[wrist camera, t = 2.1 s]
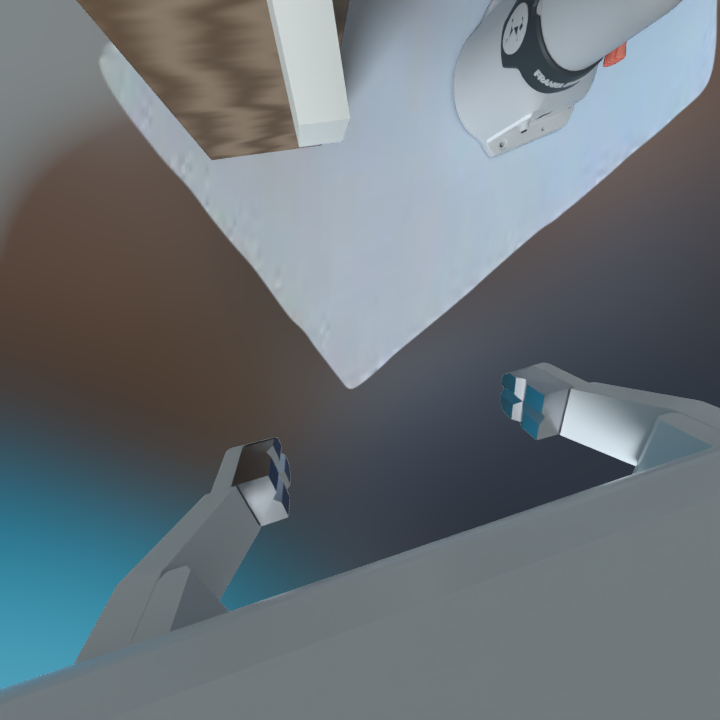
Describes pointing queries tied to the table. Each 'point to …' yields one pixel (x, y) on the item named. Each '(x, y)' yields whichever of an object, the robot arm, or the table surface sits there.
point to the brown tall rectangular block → (210, 67)
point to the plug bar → (311, 69)
